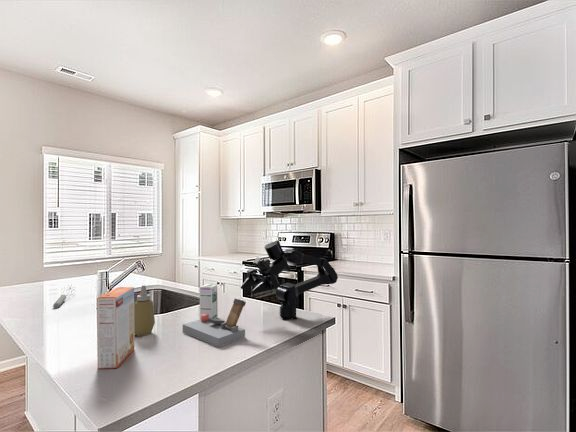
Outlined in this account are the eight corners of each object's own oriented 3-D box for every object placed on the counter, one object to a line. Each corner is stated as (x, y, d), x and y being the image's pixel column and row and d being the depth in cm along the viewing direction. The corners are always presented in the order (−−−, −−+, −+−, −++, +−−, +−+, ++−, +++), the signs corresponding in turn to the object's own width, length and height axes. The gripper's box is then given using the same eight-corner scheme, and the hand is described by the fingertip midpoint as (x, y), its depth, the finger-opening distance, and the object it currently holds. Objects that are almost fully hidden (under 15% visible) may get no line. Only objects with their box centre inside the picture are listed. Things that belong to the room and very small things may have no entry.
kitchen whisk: (47, 310, 155) (47, 297, 155) (63, 295, 186) (63, 283, 186) (62, 309, 158) (62, 296, 158) (76, 294, 189) (76, 283, 189)
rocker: (218, 322, 129) (219, 319, 130) (224, 324, 127) (224, 321, 127) (207, 321, 126) (208, 318, 126) (213, 323, 123) (214, 320, 124)
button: (205, 319, 133) (205, 313, 133) (210, 320, 131) (210, 314, 131) (199, 321, 131) (199, 314, 131) (203, 322, 129) (203, 316, 129)
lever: (226, 328, 123) (238, 300, 127) (234, 331, 120) (246, 302, 124) (222, 327, 122) (234, 298, 126) (230, 330, 119) (242, 300, 123)
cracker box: (116, 350, 109) (116, 286, 110) (135, 349, 110) (135, 286, 110) (95, 369, 96) (95, 296, 96) (117, 369, 96) (117, 296, 96)
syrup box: (212, 321, 140) (212, 286, 140) (199, 320, 141) (199, 286, 141) (217, 317, 146) (217, 284, 146) (205, 316, 147) (205, 283, 147)
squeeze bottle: (131, 338, 120) (132, 288, 120) (130, 331, 127) (131, 284, 127) (156, 335, 123) (156, 286, 123) (153, 328, 131) (154, 282, 131)
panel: (208, 324, 136) (208, 312, 136) (245, 337, 122) (245, 324, 122) (182, 332, 127) (182, 319, 127) (218, 347, 112) (218, 333, 112)
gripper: (256, 250, 147) (227, 270, 139) (280, 254, 132) (249, 277, 124) (266, 271, 150) (238, 292, 142) (290, 278, 135) (261, 301, 127)
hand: (246, 290), depth 134 cm, fingers open, 9 cm apart
